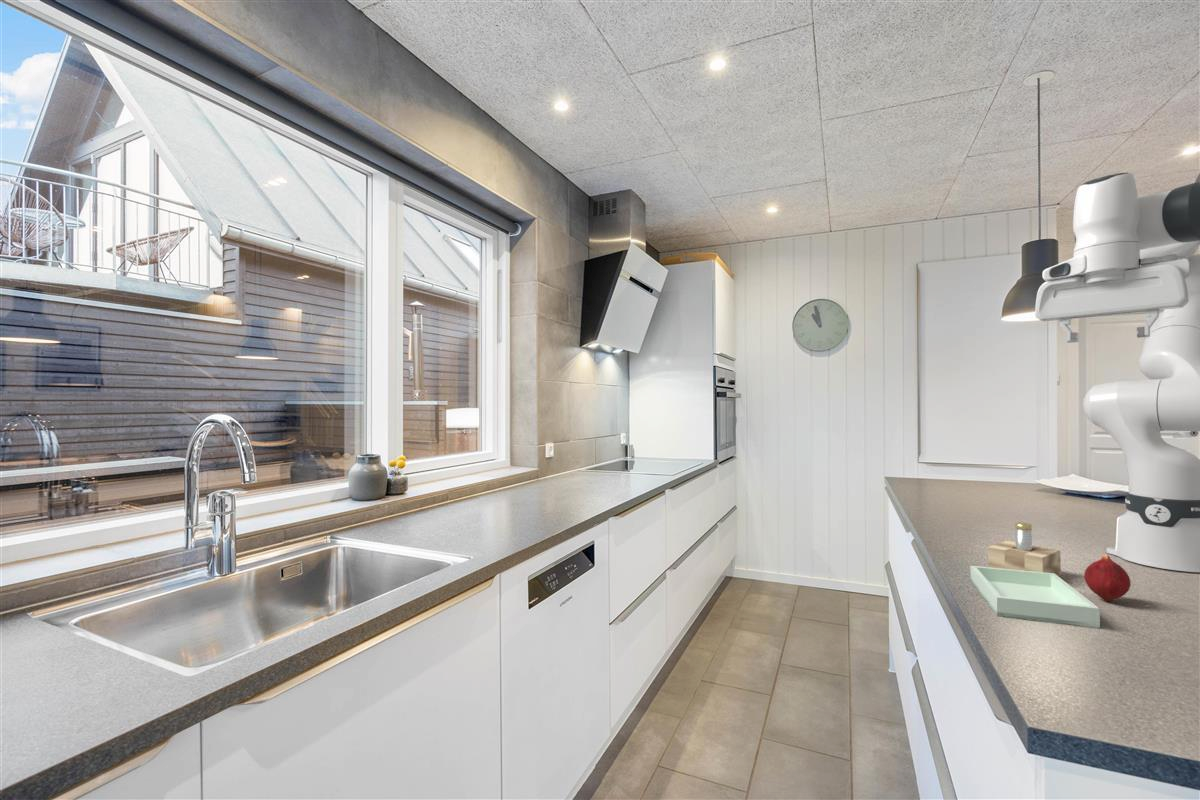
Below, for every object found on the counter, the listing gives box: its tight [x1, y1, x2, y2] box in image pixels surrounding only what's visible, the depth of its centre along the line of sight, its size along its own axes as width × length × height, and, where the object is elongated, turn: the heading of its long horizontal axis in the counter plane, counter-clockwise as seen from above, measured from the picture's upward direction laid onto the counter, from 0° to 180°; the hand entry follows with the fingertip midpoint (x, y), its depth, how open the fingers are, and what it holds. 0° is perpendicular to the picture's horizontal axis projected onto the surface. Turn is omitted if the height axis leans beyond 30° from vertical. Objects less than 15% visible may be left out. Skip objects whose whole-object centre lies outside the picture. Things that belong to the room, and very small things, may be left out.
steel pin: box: [1014, 521, 1033, 552], centre depth 108 cm, size 3×3×10 cm
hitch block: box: [987, 540, 1062, 577], centre depth 108 cm, size 9×9×5 cm
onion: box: [1083, 553, 1132, 602], centre depth 93 cm, size 6×6×8 cm
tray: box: [970, 565, 1101, 629], centre depth 93 cm, size 18×13×3 cm
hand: (1107, 339), depth 98 cm, fingers open, 8 cm apart
